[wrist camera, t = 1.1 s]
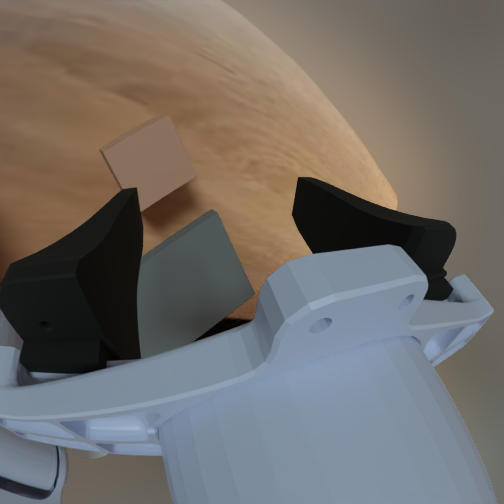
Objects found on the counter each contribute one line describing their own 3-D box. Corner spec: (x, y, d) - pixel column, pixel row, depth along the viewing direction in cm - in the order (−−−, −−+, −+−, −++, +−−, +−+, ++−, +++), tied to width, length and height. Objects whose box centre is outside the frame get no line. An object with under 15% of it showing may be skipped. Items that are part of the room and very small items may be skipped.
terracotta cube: (126, 198, 21) (137, 214, 18) (98, 149, 18) (103, 152, 14) (174, 168, 23) (196, 176, 19) (151, 118, 20) (169, 114, 16)
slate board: (134, 374, 28) (137, 381, 28) (65, 315, 21) (65, 323, 20) (249, 289, 34) (254, 294, 33) (211, 209, 26) (217, 212, 26)
